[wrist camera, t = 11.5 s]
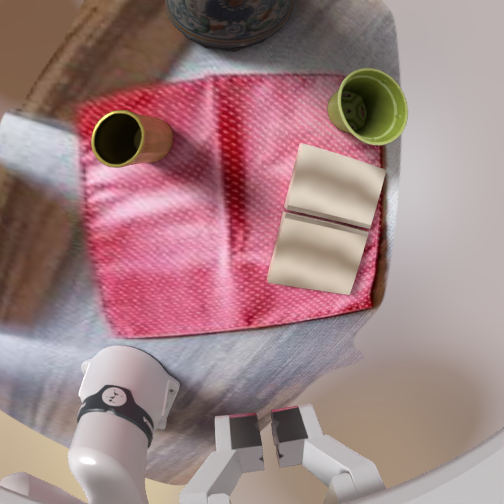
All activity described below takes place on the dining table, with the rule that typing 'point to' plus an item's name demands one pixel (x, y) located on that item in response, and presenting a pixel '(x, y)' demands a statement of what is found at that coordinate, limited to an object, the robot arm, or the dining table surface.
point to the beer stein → (229, 21)
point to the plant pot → (369, 107)
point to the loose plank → (316, 254)
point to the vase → (130, 139)
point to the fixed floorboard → (334, 186)
